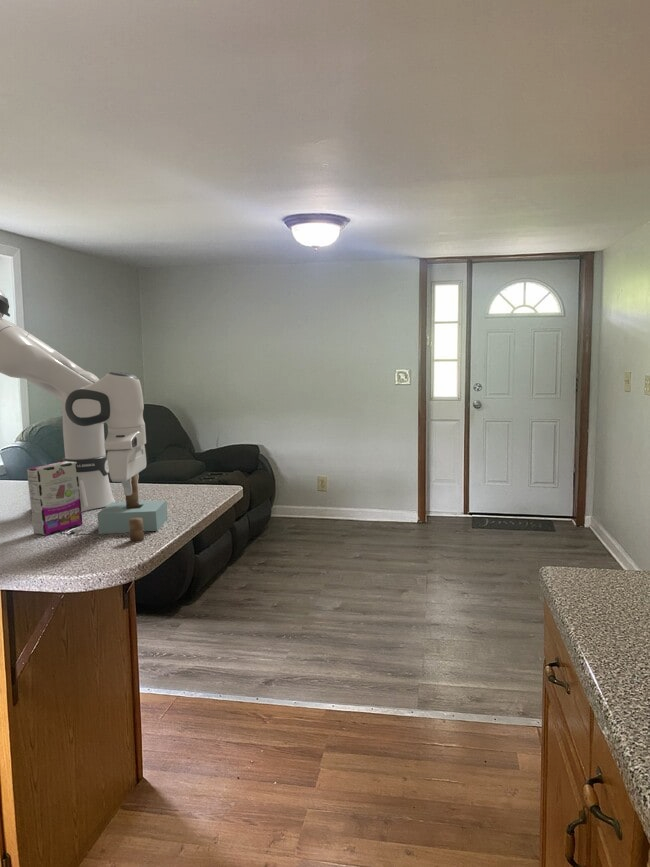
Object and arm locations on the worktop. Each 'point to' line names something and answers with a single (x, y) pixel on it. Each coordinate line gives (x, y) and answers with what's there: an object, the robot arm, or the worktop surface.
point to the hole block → (132, 516)
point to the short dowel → (136, 529)
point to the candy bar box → (54, 497)
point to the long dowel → (133, 495)
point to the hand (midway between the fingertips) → (131, 493)
